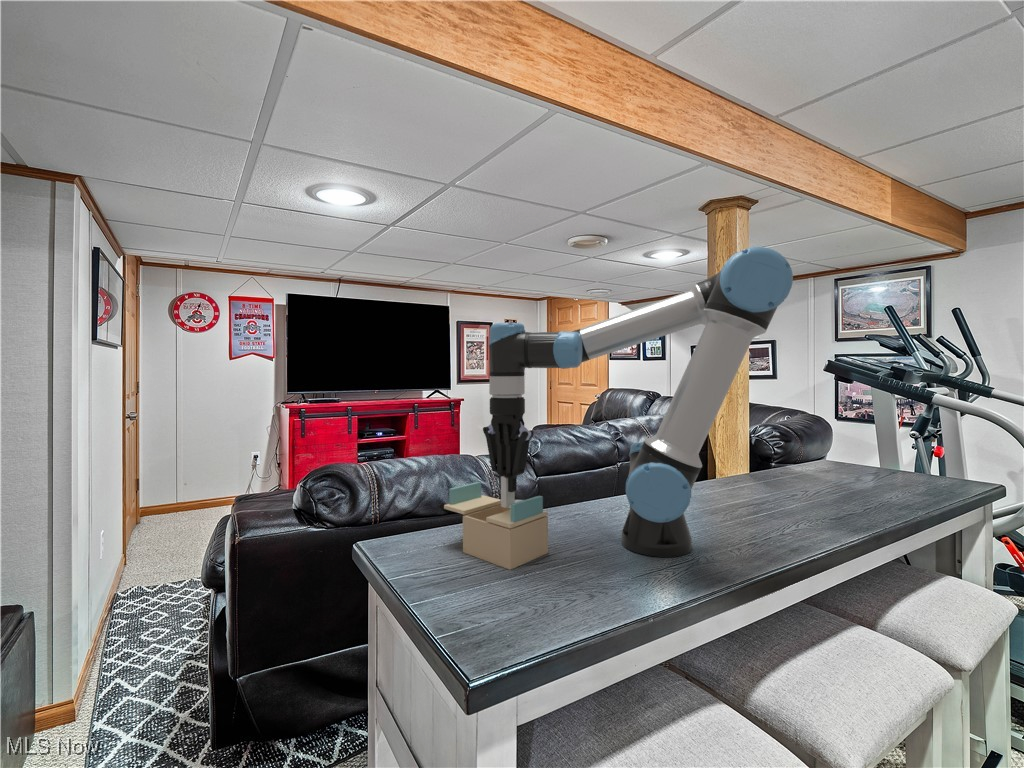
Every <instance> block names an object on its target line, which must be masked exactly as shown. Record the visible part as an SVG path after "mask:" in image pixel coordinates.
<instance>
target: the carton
mask: <svg viewBox="0 0 1024 768" xmlns="http://www.w3.org/2000/svg"><path fill="white" fill-rule="evenodd" d="M508 510H511V507H508V508H504V507H501V504H498V505H495V506H492V507H488V508H485V509H482V510H478V511H475V512H472V513H468V514H465V515H464V514H463V515H462V553H465V554H467V555H469V556H472V557H475V558H478V559H480V560H482V561H485V562H488V563H491V564H493V565H496V566H498V567H501V568H505V569H507V570H509V571H510V570H514V569H516V568H518V567H519V566H522V565H525V564H527V563H529V562H531V561H533V560H535V559H538V558H540V557H543V556H544V555H547V554H549V516H548V515H547V516H544V517H541V518H538V519H535V520H532V521H530V522H527V523H524V524H521V525H518V526H516V527H513V528H507V527H504V526H501V525H497V524H494V523H490V522H487V521H486V517H489V516H492V515H495V514H499V513H502V512H505V511H508Z"/></svg>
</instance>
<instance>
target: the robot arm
mask: <svg viewBox="0 0 1024 768" xmlns="http://www.w3.org/2000/svg"><path fill="white" fill-rule="evenodd" d="M793 281H794V274H793V270H792V267H791V265H790V264H789V262H788V260H787V259H786V258H785V256H783V255H782V254H781V253H780V252H778V251H777V250H775V249H772V248H769V247H765V246H751V247H748V248H744V249H742V250H739V251H738V252H736V253H734V254H733V255H731V256H730V257H729V258H728V259H727V260H726V262H725V263H724V264H723V266H722V267H721V269H720V271H719V272H717V273H716V274H714V275H712V276H710V277H708V278H707V279H704V280H702V281H699V282H696V283H694V284H693V285H692V287H691V288H690V290H688V291H685V292H682V293H679V294H676V295H673V296H670V297H667V298H664V299H662V300H658V301H656V302H654V303H650V304H647V305H645V306H642V307H639V308H635V309H632V310H630V311H627V312H624V313H622V314H619V315H616V316H613V317H610V318H607V319H604V320H602V321H598V322H596V323H592V324H589V325H587V326H583V327H581V328H578V329H574V330H571V331H569V330H568V331H567V330H561V331H547V332H546V331H542V332H529V331H526V329H525V325H524V324H523V323H521V322H499V323H493V324H491V326H490V328H489V342H488V356H489V357H488V358H489V361H488V363H489V392H488V393H489V395H490V396H491V397H490V398H489V413H490V415H492V417H491V421H490V424H489V425H488V426H483V427H482V432H483V433H484V437H485V439H486V444H487V451H488V455H489V456H488V457H489V461H490V468H491V472H496V473H497V475H498V487H499V490H500V500H501V507H504V508H508V507H511V504H513V503H515V500H516V498H515V495H516V493H515V492H517V488H518V487H517V482H518V481H517V477H518V476H520V475H523V474H524V473H525V471H526V465H527V461H528V453H529V448H530V443H531V440H532V438H533V436H534V431H533V430H531V429H530V430H529V429H528V428H527V427H525V421H524V414H525V412H526V409H525V408H526V399H525V397H524V396H523V395H525V389H526V386H525V382H526V381H525V379H526V376H525V374H526V373H525V371H526V369H563V370H565V369H567V370H568V369H574V368H578V367H580V366H581V364H582V363H585V362H588V361H590V360H593V359H597V358H598V357H599V358H600V357H603V356H605V355H608V354H612V353H615V352H618V351H621V350H623V349H627V348H628V349H629V348H630V347H634V346H636V345H639V344H642V343H646V342H649V341H651V340H655V339H658V338H661V337H664V336H667V335H670V334H674V333H677V332H679V331H683V330H685V329H690V328H692V327H695V326H698V325H704V328H703V330H702V333H701V335H700V337H699V339H698V341H697V343H696V346H695V347H694V350H693V352H692V355H691V357H690V359H689V361H688V364H687V366H686V367H685V370H684V373H683V374H682V376H681V378H680V382H679V384H678V386H677V387H676V390H675V392H674V394H673V396H672V399H671V401H670V403H669V406H668V408H667V410H666V412H665V414H664V417H663V419H662V421H661V423H660V425H659V428H658V430H657V432H656V434H655V435H654V436H651V437H648V438H645V439H644V441H643V442H633V443H632V444H631V445H630V448H629V453H628V456H629V472H628V475H627V478H626V480H625V481H626V482H625V487H624V488H625V489H624V490H625V491H624V492H625V495H626V498H627V502H628V504H629V510H628V513H627V517H626V519H625V522H624V525H623V528H622V531H621V545H622V546H623V547H625V548H626V549H627V550H629V551H631V552H634V553H637V554H641V555H644V556H650V557H658V558H673V557H675V558H676V557H680V556H684V555H686V554H689V553H690V552H692V549H693V547H692V546H693V540H692V539H693V538H692V535H691V532H690V529H689V525H688V523H687V520H686V516H685V514H684V513H686V511H687V509H688V507H690V503H691V498H692V489H693V487H694V484H695V482H696V480H697V478H698V477H699V474H700V472H701V470H702V468H703V464H702V461H701V458H700V455H699V454H700V452H701V449H703V448H702V447H703V445H704V443H705V441H706V439H707V437H708V435H709V433H710V431H711V428H712V426H713V425H714V422H715V420H716V417H717V415H718V413H719V411H720V409H721V408H722V404H723V403H724V401H725V398H726V396H727V395H728V392H729V390H730V387H731V386H732V383H733V382H734V379H735V377H736V375H737V373H738V371H739V369H740V367H741V364H742V362H743V360H744V357H745V355H746V353H747V352H748V349H749V347H750V345H751V343H752V341H753V339H754V338H756V337H758V336H760V335H763V334H766V332H767V330H768V327H769V325H770V323H771V321H772V320H773V317H774V315H775V313H776V310H777V309H778V307H779V306H781V304H782V303H783V302H785V300H786V299H787V298H788V296H789V295H790V292H791V290H792V288H793V287H792V286H793Z"/></svg>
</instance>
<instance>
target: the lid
mask: <svg viewBox="0 0 1024 768" xmlns="http://www.w3.org/2000/svg"><path fill="white" fill-rule="evenodd" d="M448 494H449V496H448V498H449V499H448V500H449V502H448V503H447V504H444V505H443V509H444V510H447V511H451V512H454V513H458V514H461V515H463V516H464V515H467V514H470V513H474V512H477V511H480V510H484V509H487V508H490V507H494V506H497V505H500V504H501V498H500V499H499V498H496V497H492V496H488V495H484V494H482V482H480V481H475V482H471V483H468V484H464V485H458V486H455V487H451V488H449V489H448Z"/></svg>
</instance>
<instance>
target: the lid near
mask: <svg viewBox="0 0 1024 768" xmlns="http://www.w3.org/2000/svg"><path fill="white" fill-rule="evenodd" d="M522 500H523V501H520V502H516V503H513V504H511V510H508V511H505V512H502V513H499V514H495V515H492V516H489V517H486V521H487V522H490V523H494V524H497V525H501V526H504V527H507V528H513V527H516V526H518V525H521V524H524V523H527V522H530V521H532V520H535V519H538V518H541V517H544V516H548V514H549V512H548V511H547V510H544V503H543V502H544V496H542V495H536V496H533V497H530V498H527V499H522Z"/></svg>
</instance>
